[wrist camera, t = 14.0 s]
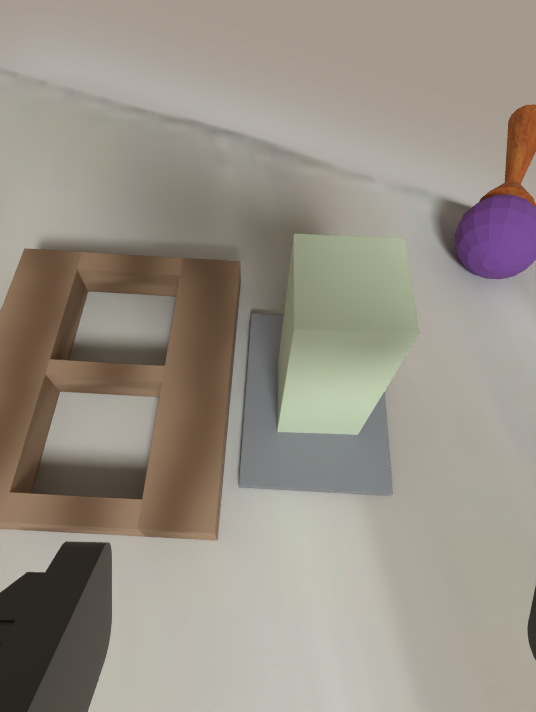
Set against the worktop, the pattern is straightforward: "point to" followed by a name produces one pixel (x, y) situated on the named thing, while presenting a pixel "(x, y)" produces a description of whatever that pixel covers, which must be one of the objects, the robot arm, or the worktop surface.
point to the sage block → (342, 330)
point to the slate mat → (304, 435)
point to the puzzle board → (119, 390)
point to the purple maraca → (504, 212)
